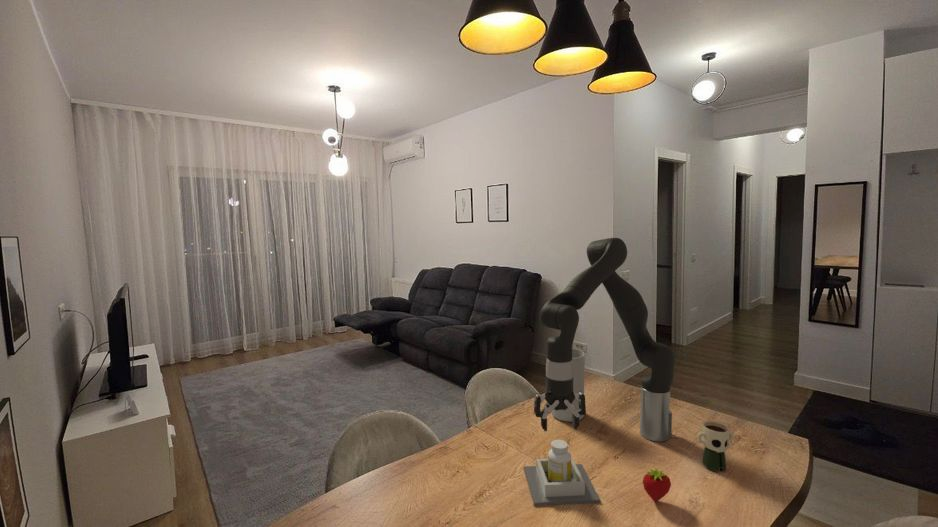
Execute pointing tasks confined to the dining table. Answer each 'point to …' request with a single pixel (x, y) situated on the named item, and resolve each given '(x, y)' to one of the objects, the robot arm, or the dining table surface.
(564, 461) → the pill bottle
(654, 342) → the robot arm
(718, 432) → the character mug
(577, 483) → the bottle holder
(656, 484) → the strawberry
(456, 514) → the dining table surface
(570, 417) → the cylinder vase
